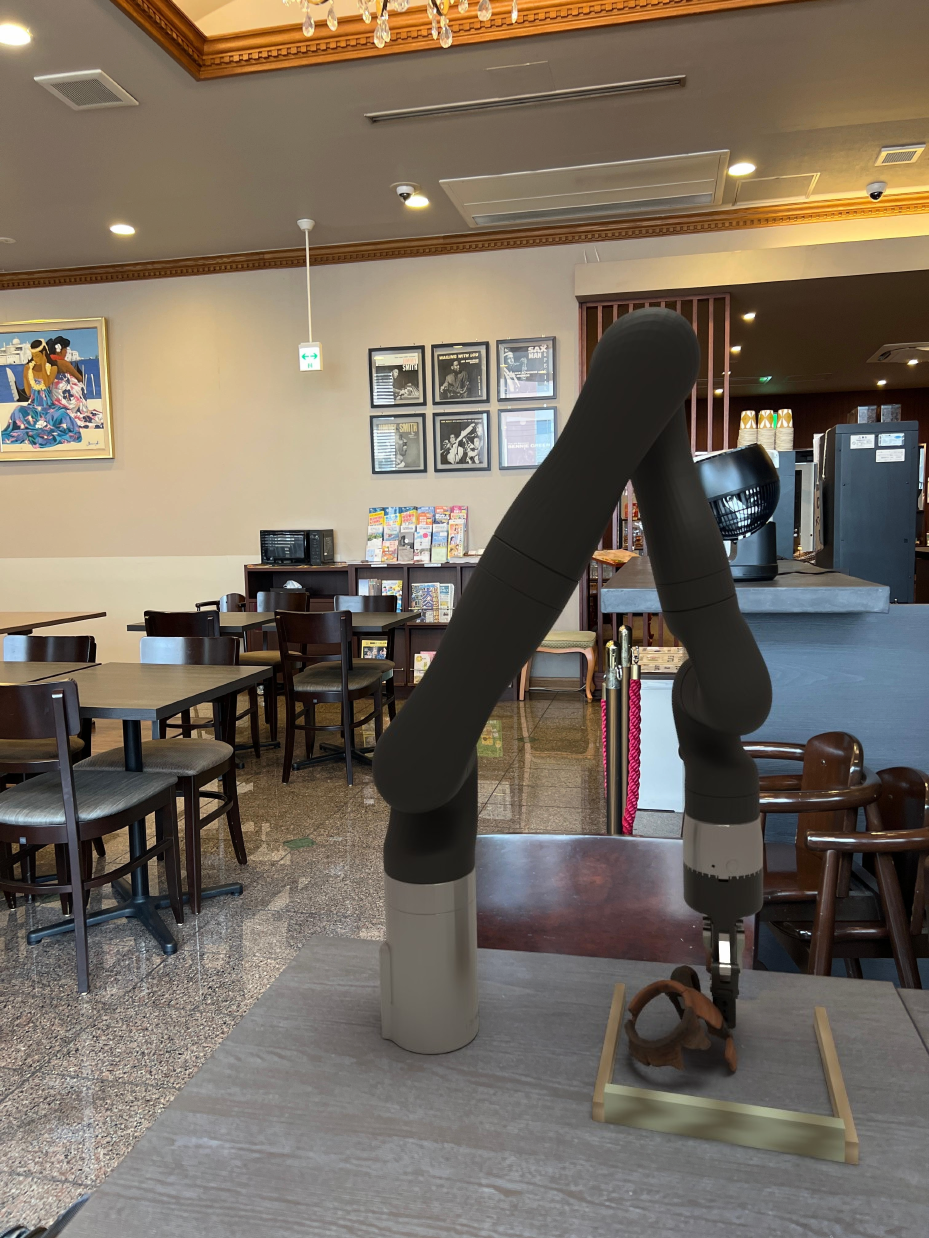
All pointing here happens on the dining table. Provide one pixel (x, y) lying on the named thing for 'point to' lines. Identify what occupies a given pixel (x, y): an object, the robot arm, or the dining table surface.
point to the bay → (730, 1106)
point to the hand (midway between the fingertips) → (724, 1024)
